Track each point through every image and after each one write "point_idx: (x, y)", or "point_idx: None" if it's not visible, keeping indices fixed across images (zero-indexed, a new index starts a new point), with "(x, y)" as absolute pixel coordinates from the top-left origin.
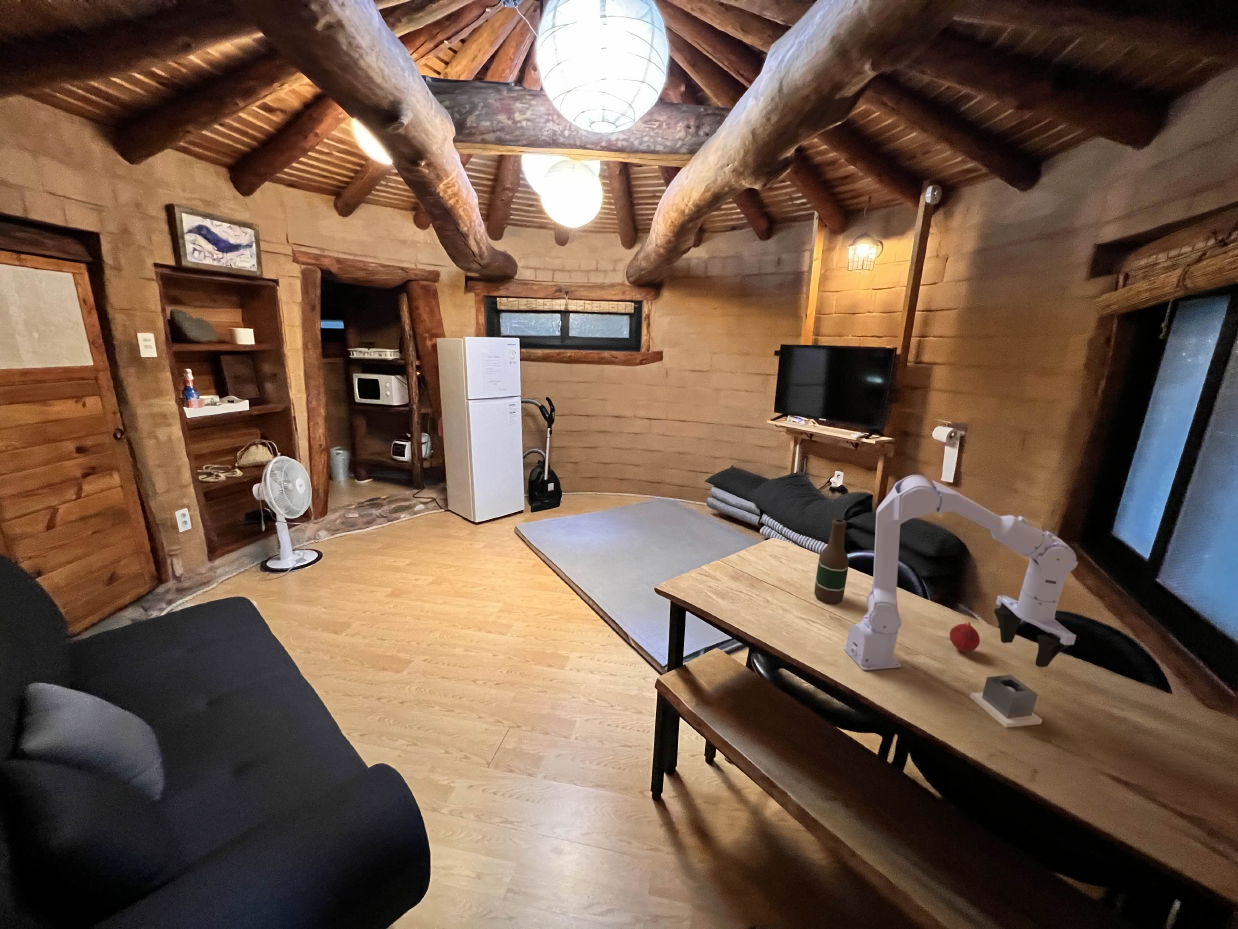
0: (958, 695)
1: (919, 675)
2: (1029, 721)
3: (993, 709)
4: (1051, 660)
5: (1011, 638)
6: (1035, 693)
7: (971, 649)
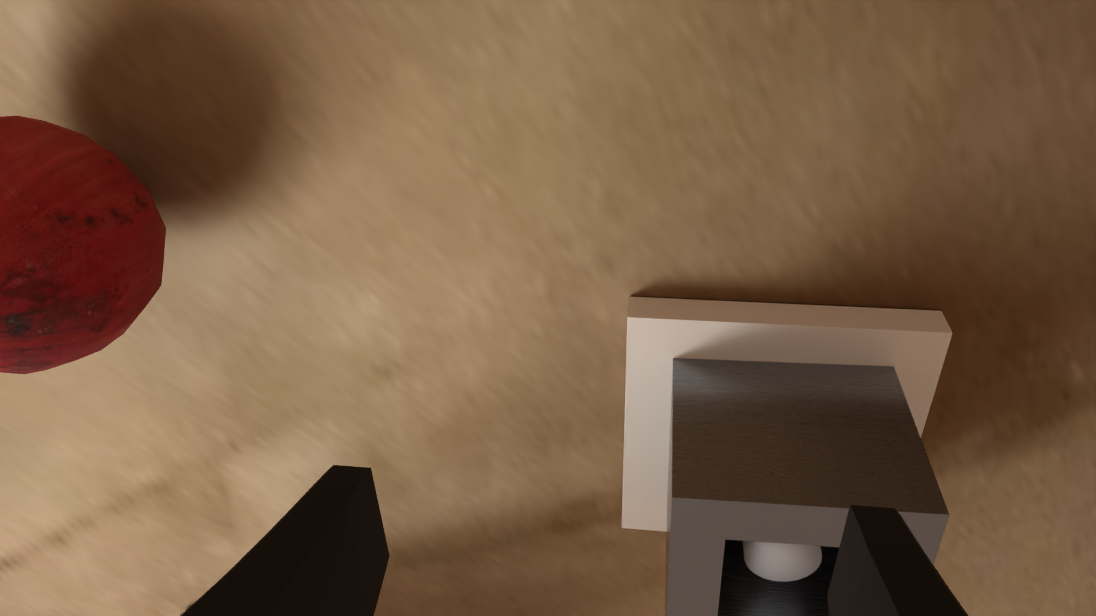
0: (597, 541)
1: (424, 593)
2: (924, 418)
3: None
4: (946, 588)
5: (352, 538)
6: (934, 525)
7: (164, 240)
